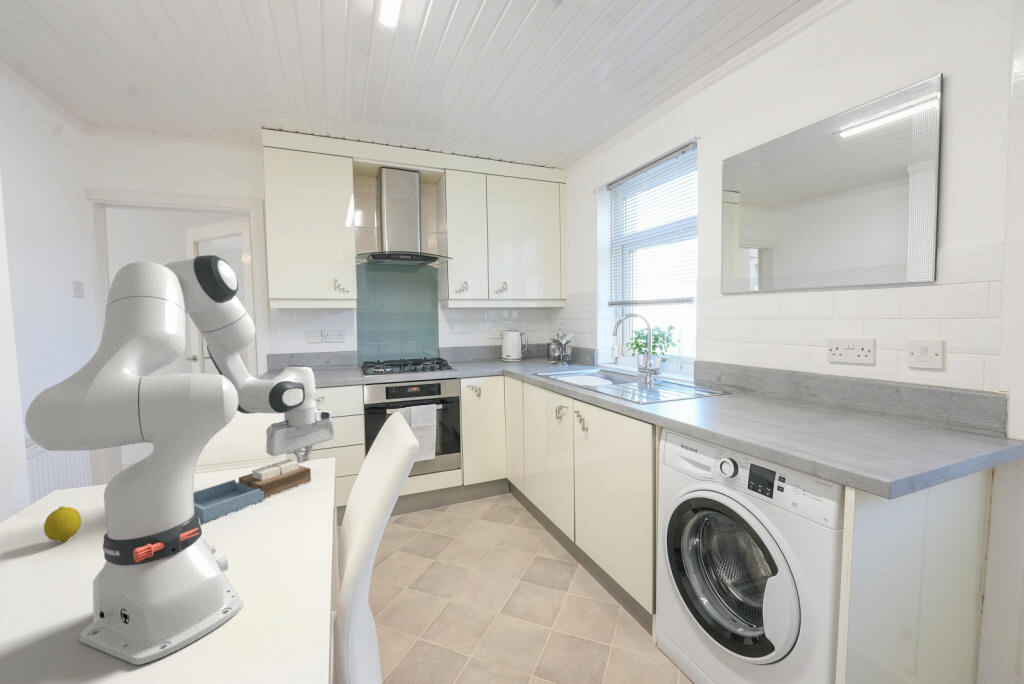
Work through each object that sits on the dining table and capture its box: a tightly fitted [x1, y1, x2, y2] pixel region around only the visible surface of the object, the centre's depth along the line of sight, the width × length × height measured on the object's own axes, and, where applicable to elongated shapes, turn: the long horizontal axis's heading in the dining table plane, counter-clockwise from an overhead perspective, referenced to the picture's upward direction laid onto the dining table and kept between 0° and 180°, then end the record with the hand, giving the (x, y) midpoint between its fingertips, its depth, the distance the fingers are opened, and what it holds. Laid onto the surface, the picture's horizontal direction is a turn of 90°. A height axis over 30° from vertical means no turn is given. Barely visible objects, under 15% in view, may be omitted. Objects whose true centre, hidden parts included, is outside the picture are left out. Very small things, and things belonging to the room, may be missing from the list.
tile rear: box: [271, 458, 299, 474], centre depth 121 cm, size 5×5×2 cm
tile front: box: [251, 464, 280, 480], centre depth 116 cm, size 5×5×2 cm
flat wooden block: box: [238, 464, 312, 498], centre depth 118 cm, size 12×14×4 cm
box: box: [194, 479, 265, 524], centre depth 107 cm, size 14×14×4 cm
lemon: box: [43, 506, 82, 543], centre depth 90 cm, size 6×6×8 cm
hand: (303, 461), depth 126 cm, fingers closed
